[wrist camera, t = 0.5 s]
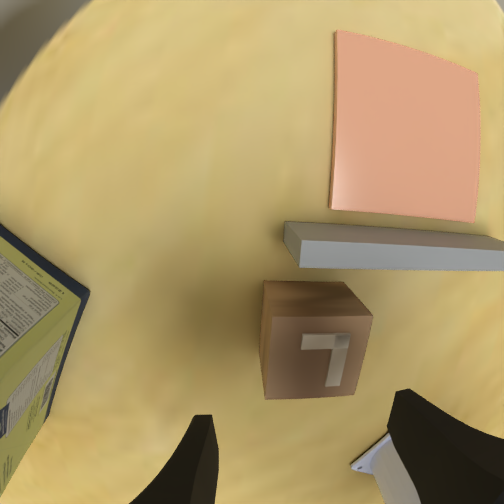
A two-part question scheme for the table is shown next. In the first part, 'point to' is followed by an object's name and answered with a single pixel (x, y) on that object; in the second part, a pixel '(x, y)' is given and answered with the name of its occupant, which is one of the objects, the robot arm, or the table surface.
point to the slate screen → (390, 248)
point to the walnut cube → (311, 339)
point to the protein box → (31, 343)
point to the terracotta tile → (403, 131)
